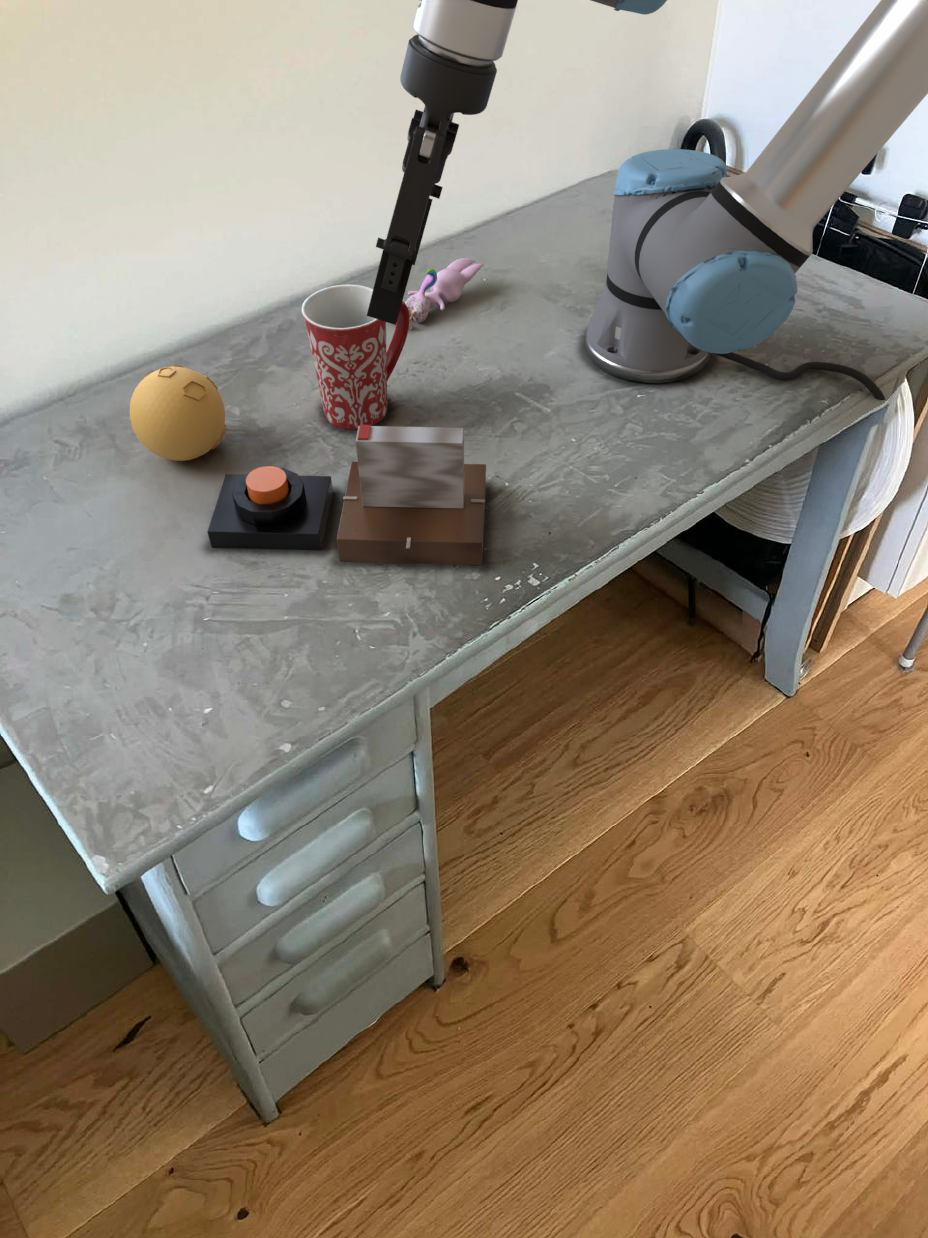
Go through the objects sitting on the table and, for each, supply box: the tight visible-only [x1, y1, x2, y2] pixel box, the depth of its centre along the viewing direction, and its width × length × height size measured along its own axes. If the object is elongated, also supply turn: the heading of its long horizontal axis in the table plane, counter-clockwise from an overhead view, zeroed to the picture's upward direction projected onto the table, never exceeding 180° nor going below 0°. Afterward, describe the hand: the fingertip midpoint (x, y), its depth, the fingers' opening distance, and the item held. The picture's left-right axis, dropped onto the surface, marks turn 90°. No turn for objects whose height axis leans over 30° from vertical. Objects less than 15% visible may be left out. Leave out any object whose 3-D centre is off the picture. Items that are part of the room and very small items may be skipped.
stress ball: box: [129, 365, 227, 462], centre depth 109 cm, size 10×10×10 cm
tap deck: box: [336, 461, 487, 566], centre depth 103 cm, size 14×14×3 cm
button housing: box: [207, 467, 334, 551], centre depth 103 cm, size 11×9×4 cm
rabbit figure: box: [404, 257, 485, 330], centre depth 131 cm, size 6×6×15 cm
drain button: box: [246, 465, 289, 504], centre depth 101 cm, size 4×4×2 cm
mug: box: [300, 284, 410, 431], centre depth 113 cm, size 13×9×14 cm
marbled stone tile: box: [355, 425, 465, 509], centre depth 99 cm, size 10×2×8 cm, turn 87°
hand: (392, 287), depth 97 cm, fingers open, 13 cm apart
